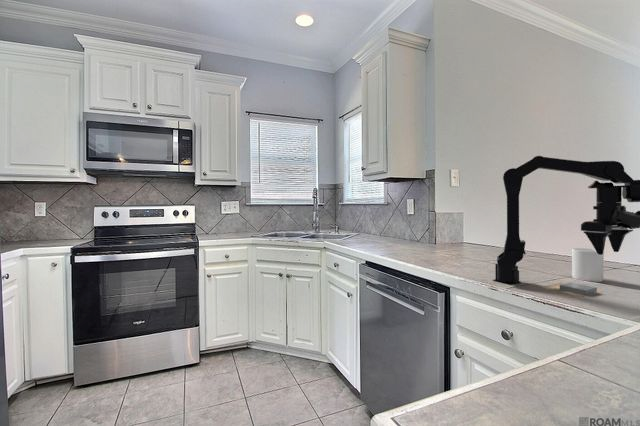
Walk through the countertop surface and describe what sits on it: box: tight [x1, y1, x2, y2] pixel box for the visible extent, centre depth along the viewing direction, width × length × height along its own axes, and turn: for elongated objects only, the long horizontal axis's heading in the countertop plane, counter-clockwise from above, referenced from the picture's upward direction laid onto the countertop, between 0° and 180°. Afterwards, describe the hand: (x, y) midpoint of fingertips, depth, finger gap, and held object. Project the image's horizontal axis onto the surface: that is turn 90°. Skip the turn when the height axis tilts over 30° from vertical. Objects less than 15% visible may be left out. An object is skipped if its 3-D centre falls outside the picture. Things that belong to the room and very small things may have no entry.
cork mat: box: [541, 282, 604, 298], centre depth 100 cm, size 12×11×1 cm
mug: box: [571, 247, 605, 283], centre depth 114 cm, size 9×12×11 cm
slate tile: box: [560, 282, 598, 297], centre depth 98 cm, size 7×2×6 cm
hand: (608, 253), depth 98 cm, fingers open, 9 cm apart
